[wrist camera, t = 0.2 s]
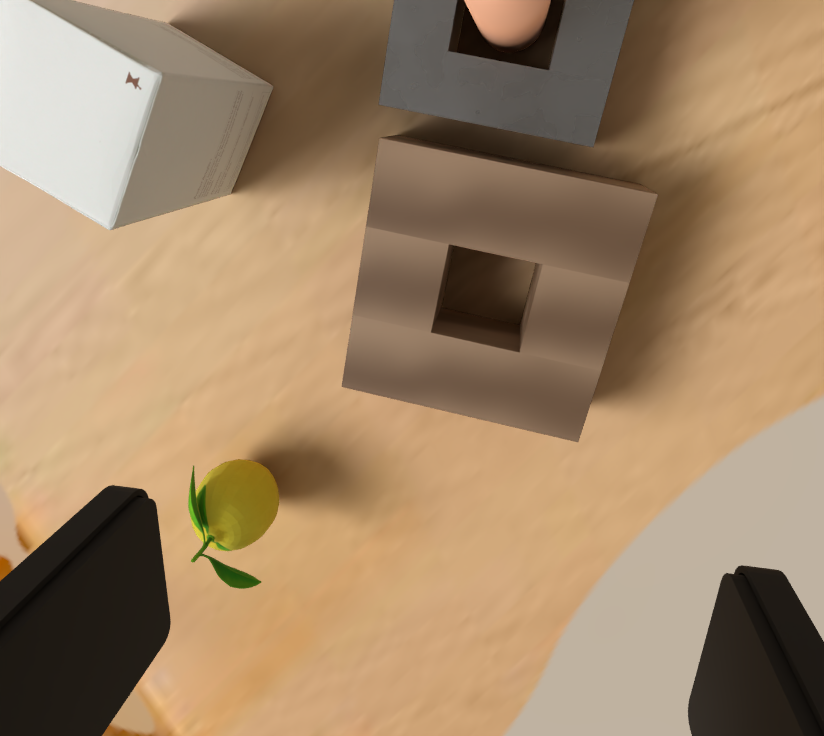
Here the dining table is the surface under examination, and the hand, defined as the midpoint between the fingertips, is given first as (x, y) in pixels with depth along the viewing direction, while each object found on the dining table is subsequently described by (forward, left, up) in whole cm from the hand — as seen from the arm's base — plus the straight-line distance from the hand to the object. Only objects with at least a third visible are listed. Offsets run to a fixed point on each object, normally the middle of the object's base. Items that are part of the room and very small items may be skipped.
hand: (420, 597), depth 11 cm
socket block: (+2, 0, -30) cm, 30 cm away
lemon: (+20, -13, -31) cm, 39 cm away
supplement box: (-4, -19, -31) cm, 36 cm away
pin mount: (-12, -2, -30) cm, 33 cm away
